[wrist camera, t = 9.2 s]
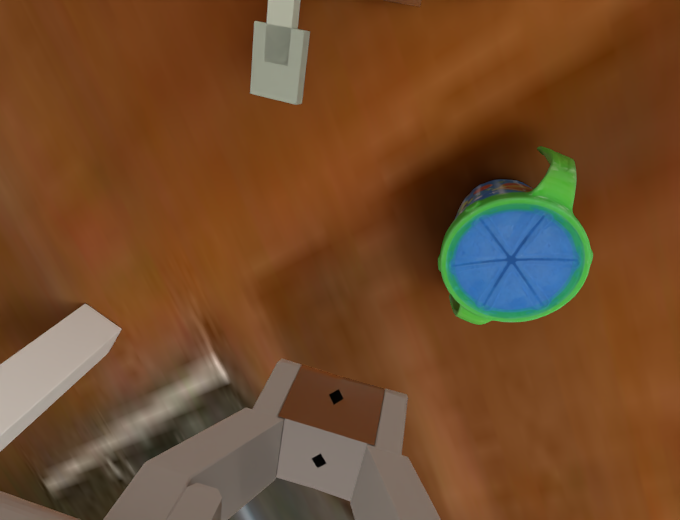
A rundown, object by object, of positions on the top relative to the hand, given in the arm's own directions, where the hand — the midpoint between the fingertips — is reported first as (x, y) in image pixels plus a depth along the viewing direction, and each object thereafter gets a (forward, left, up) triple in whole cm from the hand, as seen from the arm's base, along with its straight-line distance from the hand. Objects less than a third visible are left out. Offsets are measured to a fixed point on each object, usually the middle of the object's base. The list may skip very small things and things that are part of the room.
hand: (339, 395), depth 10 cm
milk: (+37, +35, -33) cm, 61 cm away
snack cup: (-9, +6, -33) cm, 35 cm away
